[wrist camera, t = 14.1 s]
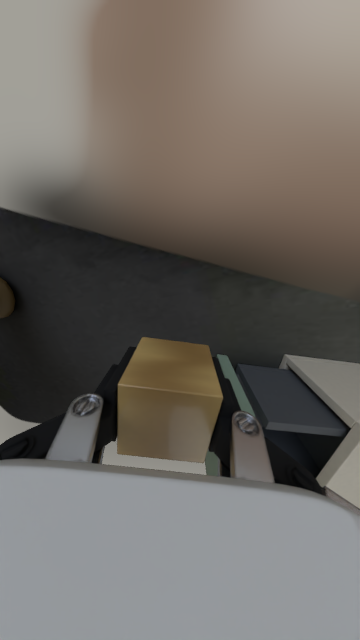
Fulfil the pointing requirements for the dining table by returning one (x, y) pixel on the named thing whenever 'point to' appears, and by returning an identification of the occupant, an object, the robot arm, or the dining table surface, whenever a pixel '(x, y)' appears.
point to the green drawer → (285, 414)
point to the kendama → (6, 299)
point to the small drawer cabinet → (349, 404)
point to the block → (168, 401)
